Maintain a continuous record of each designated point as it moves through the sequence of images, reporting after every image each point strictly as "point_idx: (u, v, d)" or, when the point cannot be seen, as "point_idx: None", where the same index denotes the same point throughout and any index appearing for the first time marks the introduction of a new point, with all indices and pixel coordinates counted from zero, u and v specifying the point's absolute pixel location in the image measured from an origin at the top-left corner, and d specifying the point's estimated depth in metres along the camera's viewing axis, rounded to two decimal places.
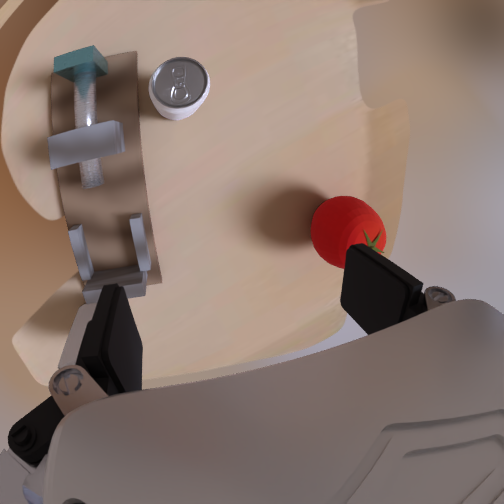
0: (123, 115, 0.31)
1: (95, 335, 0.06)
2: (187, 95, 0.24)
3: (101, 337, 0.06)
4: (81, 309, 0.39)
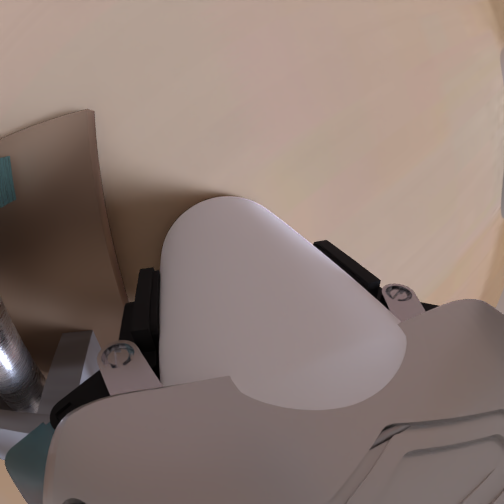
0: (88, 313, 0.12)
1: (142, 311, 0.07)
2: None
3: (148, 313, 0.07)
4: None
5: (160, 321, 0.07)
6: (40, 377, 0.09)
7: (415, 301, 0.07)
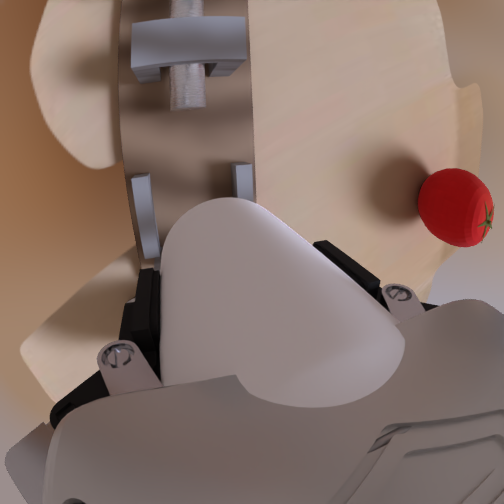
0: None
1: (142, 311, 0.07)
2: None
3: (149, 313, 0.07)
4: None
5: (161, 324, 0.07)
6: None
7: (415, 301, 0.07)
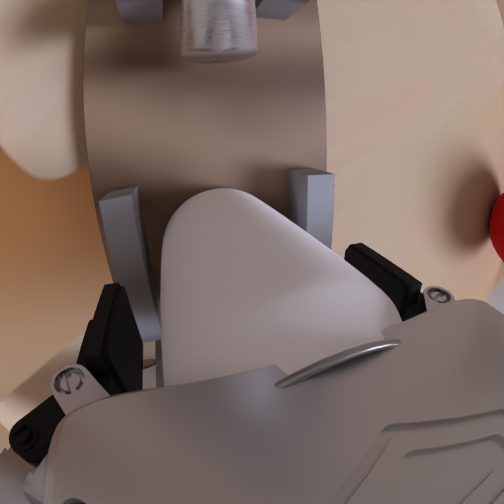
0: None
1: (96, 334, 0.06)
2: None
3: (102, 336, 0.06)
4: None
5: (162, 291, 0.09)
6: None
7: None
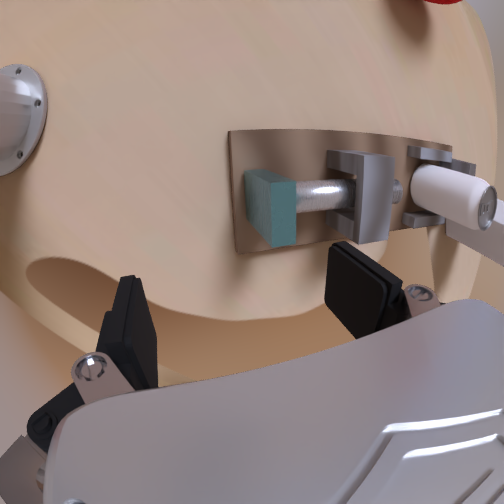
0: (318, 148, 0.28)
1: (117, 323, 0.07)
2: (492, 201, 0.24)
3: (124, 324, 0.07)
4: (451, 233, 0.39)
5: None
6: (344, 179, 0.27)
7: (435, 302, 0.07)
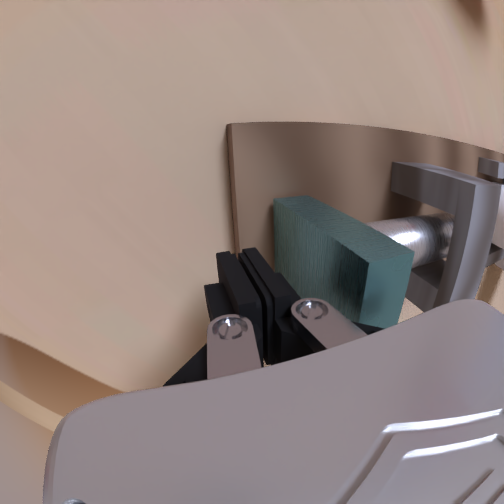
0: (381, 158, 0.16)
1: (241, 288, 0.08)
2: None
3: (249, 288, 0.08)
4: (502, 263, 0.27)
5: None
6: (432, 214, 0.15)
7: (335, 313, 0.07)
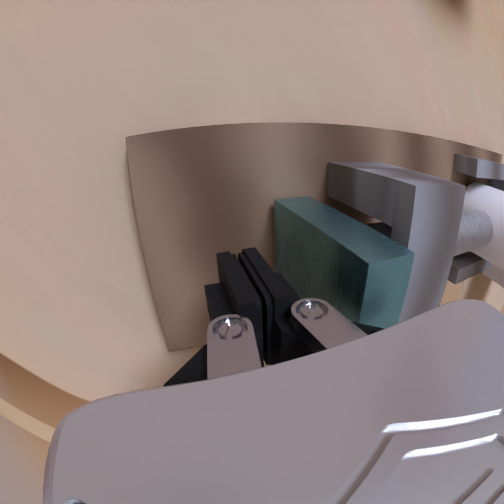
0: (311, 159, 0.14)
1: (241, 288, 0.08)
2: None
3: (249, 288, 0.08)
4: (490, 272, 0.26)
5: None
6: None
7: (335, 313, 0.07)
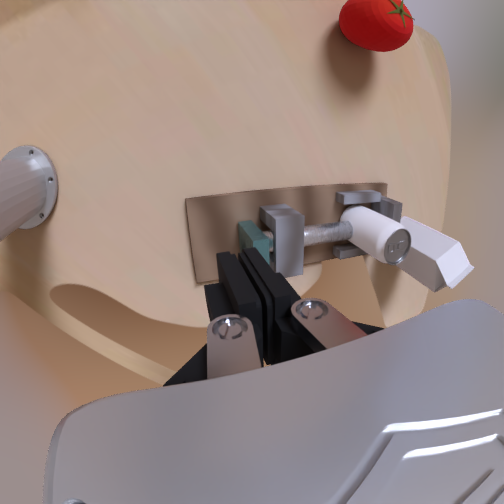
0: (252, 206, 0.40)
1: (241, 288, 0.08)
2: (404, 240, 0.36)
3: (249, 289, 0.08)
4: None
5: None
6: (308, 225, 0.41)
7: (335, 313, 0.07)
